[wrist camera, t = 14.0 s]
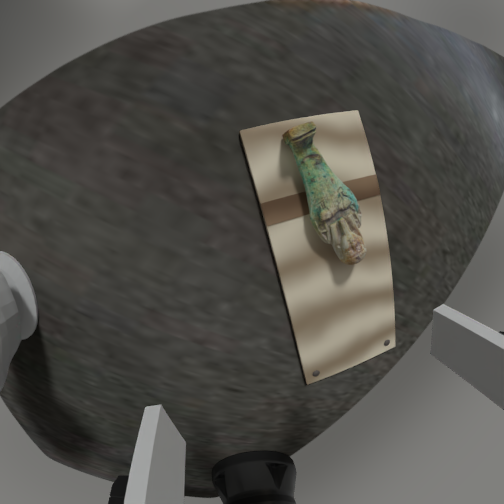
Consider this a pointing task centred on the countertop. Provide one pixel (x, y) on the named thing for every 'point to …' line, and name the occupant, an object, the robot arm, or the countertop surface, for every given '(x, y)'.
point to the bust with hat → (14, 310)
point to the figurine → (327, 197)
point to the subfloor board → (325, 246)
